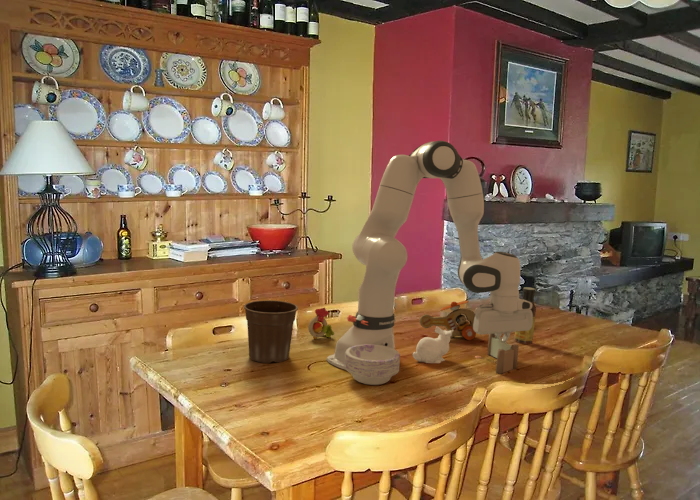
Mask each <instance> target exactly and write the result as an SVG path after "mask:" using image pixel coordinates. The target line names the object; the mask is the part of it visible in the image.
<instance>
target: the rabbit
mask: <svg viewBox="0 0 700 500" xmlns="http://www.w3.org/2000/svg"><path fill="white" fill-rule="evenodd" d="M453 331H454V330H450V331H448V330H447V329H444V330H443V328H441V327H440V326H435V329H434V333H436V334H439V335H438V336H437V337H436V338H433V337H430V336H425V337H423V338H421V339H420V340H419V341H418V342H417V344H416V348H415V351H413V353H412V357H413V359H414V360H415V361H417V362H420V363H425V364H441V363H442V362H445V361H446V359H444V358H443V356H445V355H446V354H448V352H449V351H450V341H451V337H450V336H452V332H453Z"/></svg>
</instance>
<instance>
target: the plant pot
mask: <svg viewBox="0 0 700 500" xmlns="http://www.w3.org/2000/svg"><path fill="white" fill-rule="evenodd" d="M243 308H244V310H245V311H244V312H245V320H246V323H247V339H248V340H247V341H248V355H249V359H251V360H252V361H255V362H257V363H264V364H271V363H272V362H275V363H281V362H285V361H287V360H288V359H289V358H290V353H291V352H290V351H291V344H292V337H293V328H294V322H295V320H296V314H297V311H298V309H299V307H298V305H296V304H295V303H292V302H289V301H285V300H283V301H282V300H268V299H267V300H256V301H255V300H253V301H249V302H248V303H245V304H244V306H243Z"/></svg>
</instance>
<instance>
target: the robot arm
mask: <svg viewBox="0 0 700 500" xmlns="http://www.w3.org/2000/svg"><path fill="white" fill-rule="evenodd" d="M423 179H440V180H441V181H442V183H443V185H444V188H445V193H446V200H447V201H446V202H447V205H448V209H449V213H450V216H451V219H452V220H453V224H454V226H455V228H456V231H457V236H458V242H459V250H460V251H459V252H460V260H459V263H458V268H457V277H458V279H459V281H460V283H462V284H463V285H464V287H465V288H466V289H467V290H468V291H470V292H471V293H475V294H482V293H490V294H489V295H490V296H489V303H486V304H482V303H481V304H479V305H478V306H477V307H476V308H475V310H474V313H475V318H474V323H473V330H474V331H475V332H476V334H478V335H480V336H482V335H489V334H492V333H495V337H496V338H497V339H499V340H502V341H504V342H505V343H507V344H508V339H509V338H510V337H511V333H513V332H514V333H515V331H526V330H530V329H531V328H532V324H533V313H532V311H531V310H530V309H532V303H531V302H529V301H526V300H523V299H522V298H521V297H520V292H519V286H520V283H521V262H520V259H519V257H518V256H517V255H515V254H512V253H510V252H507V251H495V252H494V253H493V254H491V255H489V256H488V257H486V258H483V257H482V255H481V250H480V249H481V248H480V242H479V235H478V234H479V231H478V230H479V224H480V222H481V219H482V218H483V216H484V212H485V210H484V209H485V199H484V193H483V192H484V191H483V186H482V182H481V178H480V175H479V172H478V168H477V166H476V164H475V163H474V162H473V161H471V160H468V159H463V158H462V156H461V155H460V154H459V152H458V151H457V149H456V147H455V146H454V145H453V144H452V143H450V142H448V141H444V140H435V141H428V142H425V143H424V144H421V145H419V146H418V147H416V148H415V149H414V150H413V151H412V152H411V153H410V154H409V155H407V154H396V155H394V156H392V158H390V160H389V161H388V163H387V165H386V168H385V170H384V172H383V174H382V177H381V179H380V183H379V187H378V190H377V191H376V192H377V193H376V195H375V196H376V197H375V199H374V202H373V206H372V209H371V212H370V213H369V215H368V217H367V219H366V221H365V223H364V225H363V226H362V229H361V231H360V232H359V234H358V235H357V236H356V237H355V238H354V240H353V243H352V253H353V255H354V257H355V259H357V261H358V262H359V263H361V264H362V265H364V266H365V272H364V276H363V280H362V282H361V284H360V285H359V288H358V299H357V300H358V303H357V304H358V305H357V306H358V307H357V312H356V313H355V315H352V314H348V316H347V317H346V320H347V322H350V323H352V326H351V327H350V328H349V329H348V330H346V332H345V333H344V334H342V336H341V337H340V338H339V339H338V340H337V341H336V344H335V351H334V354H330V355H328V356H327V357H326V361H327V363H329V364H331V365H332V366H334V367H336V368H339V369H342V370H345V371H347V370H346V369H345V352H346V350H347V349H348V348H350V347H352V346H356V345H365V344H373V345H382V346H387V347H390V348H393V349H395V350H396V347H395V346H396V345H395V344H396V343H395V336H394V335H395V334H394V326H395V321H396V319H395V318H396V317H395V313H394V309H395V308H394V307H395V294H396V287H397V282H398V279H399V277H400V272H401V271H402V269H403V268H404V267H405V265H406V264H407V261H408V251H407V248H406V246H405V245H404V244H402V242H401V241H399V240H398V238H396V236H397V234H398V232H399V230H400V229H401V227H402V226H403V225H404V224H405V223H406V222H407V220H408V218H409V214H410V210H411V207H412V204H413V200H414V198H415V195H416V194H415V193H416V190H417V186H418V185H419V183H420V181H421V180H423ZM501 336H502V337H501Z"/></svg>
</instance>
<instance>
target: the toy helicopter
mask: <svg viewBox="0 0 700 500" xmlns="http://www.w3.org/2000/svg"><path fill="white" fill-rule="evenodd" d="M465 304H469V300H462V301H458V302H456V301H452V302H451V303H450V305H446V306H443V307H441V308H439V311H441V312H442V311H446V310H448V309H450V311H451V312H449V314H448V315H445V316H443V315H442V316H431V315H430V314H428V313H427V314H422V315H421V316H420V317H419V324H420V326H421V327H422V328H424V329H430V328H431V327H436V326H438V327H445V328H446V331H450V330H454V331H453V332H452V336H450V339H452V338H454V337H463V338H464V340H465V339H466V340H467V341H472V340H474V339H475V338H476V336H477V333H476V332H475V331H474V330H473V323H474V318H475V311H473V310H470V309H469V308H465V307H464V308H461V305H465Z"/></svg>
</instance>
